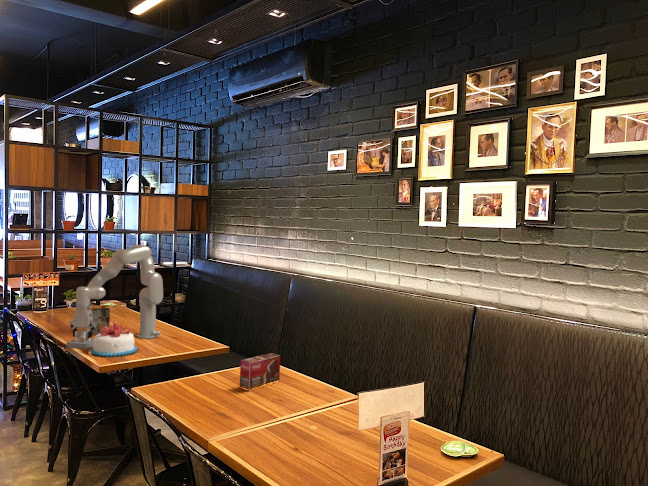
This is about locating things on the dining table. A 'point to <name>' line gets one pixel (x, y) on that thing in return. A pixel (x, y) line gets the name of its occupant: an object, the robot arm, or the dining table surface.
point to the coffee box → (101, 318)
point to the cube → (81, 336)
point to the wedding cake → (114, 342)
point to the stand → (80, 344)
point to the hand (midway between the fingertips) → (82, 336)
